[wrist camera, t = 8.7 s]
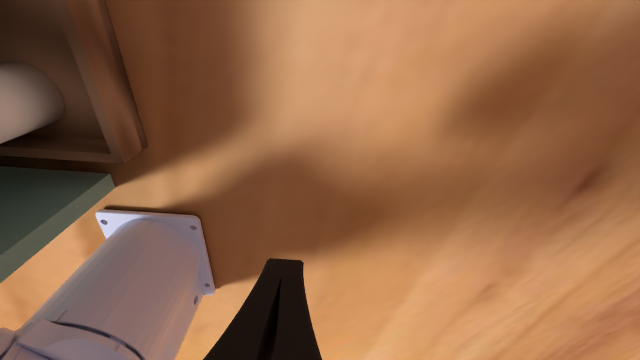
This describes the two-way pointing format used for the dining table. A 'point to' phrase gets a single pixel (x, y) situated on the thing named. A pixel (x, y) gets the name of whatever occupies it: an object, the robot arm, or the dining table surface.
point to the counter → (42, 208)
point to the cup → (26, 100)
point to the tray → (73, 80)
